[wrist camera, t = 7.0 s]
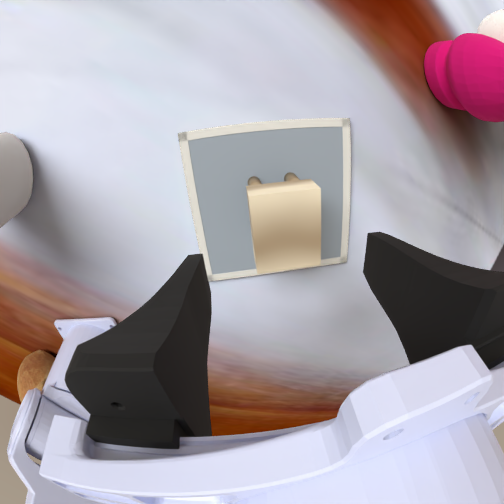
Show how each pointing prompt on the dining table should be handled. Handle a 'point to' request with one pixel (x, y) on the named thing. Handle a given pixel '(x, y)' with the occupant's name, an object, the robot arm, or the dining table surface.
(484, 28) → the lidded jar
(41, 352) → the bread roll
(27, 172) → the can
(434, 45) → the pepper mill
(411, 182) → the dining table surface
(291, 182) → the small wooden stool
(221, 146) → the mat
